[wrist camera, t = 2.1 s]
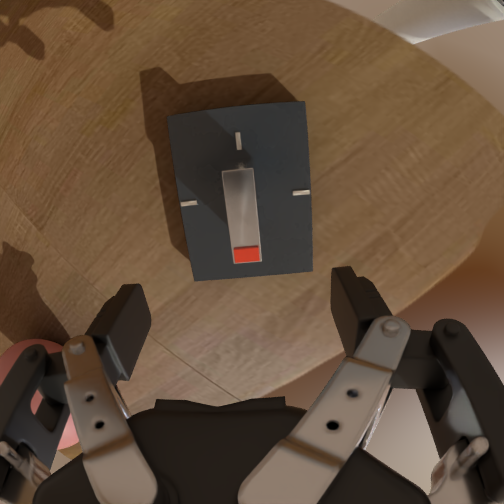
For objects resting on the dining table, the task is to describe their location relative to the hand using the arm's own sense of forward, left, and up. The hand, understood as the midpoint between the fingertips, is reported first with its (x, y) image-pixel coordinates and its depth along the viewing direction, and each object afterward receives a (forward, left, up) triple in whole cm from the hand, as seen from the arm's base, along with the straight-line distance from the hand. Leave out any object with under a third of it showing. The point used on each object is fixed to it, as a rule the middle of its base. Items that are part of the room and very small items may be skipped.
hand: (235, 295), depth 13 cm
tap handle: (0, 0, -14) cm, 14 cm away
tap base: (0, 0, -17) cm, 17 cm away
